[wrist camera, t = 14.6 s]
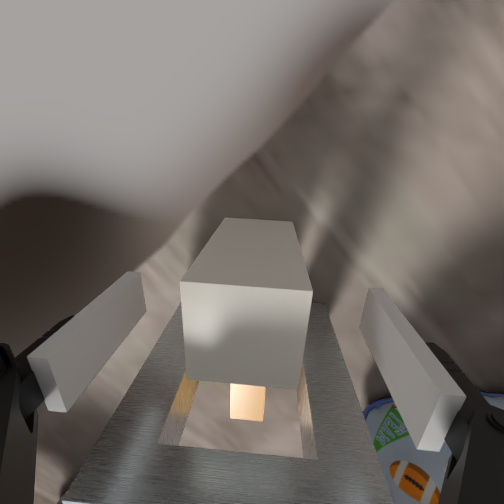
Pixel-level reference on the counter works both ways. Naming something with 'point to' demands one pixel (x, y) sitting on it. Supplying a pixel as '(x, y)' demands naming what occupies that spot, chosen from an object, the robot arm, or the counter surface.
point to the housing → (230, 462)
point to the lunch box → (409, 454)
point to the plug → (247, 311)
